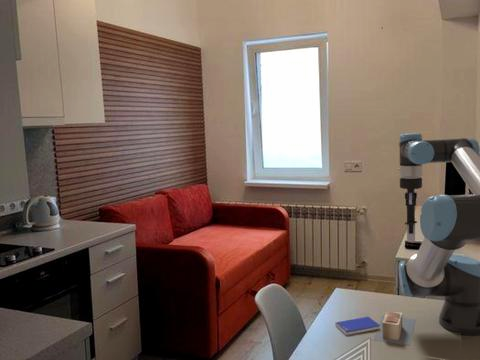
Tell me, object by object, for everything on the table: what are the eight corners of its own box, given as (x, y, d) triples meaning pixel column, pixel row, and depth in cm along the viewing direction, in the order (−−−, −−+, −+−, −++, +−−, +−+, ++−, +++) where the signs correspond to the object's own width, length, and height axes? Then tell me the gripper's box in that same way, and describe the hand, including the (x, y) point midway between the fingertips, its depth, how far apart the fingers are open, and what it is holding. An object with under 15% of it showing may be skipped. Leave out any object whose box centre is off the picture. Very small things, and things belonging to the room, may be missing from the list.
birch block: (402, 312, 157) (398, 324, 148) (402, 327, 158) (398, 340, 149) (386, 310, 160) (382, 322, 151) (387, 325, 160) (382, 337, 151)
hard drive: (346, 331, 154) (380, 324, 157) (335, 321, 162) (367, 315, 165) (346, 335, 154) (380, 329, 157) (335, 326, 162) (367, 320, 165)
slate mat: (415, 320, 163) (415, 319, 163) (409, 346, 145) (409, 345, 145) (382, 316, 168) (382, 315, 168) (373, 341, 150) (373, 339, 150)
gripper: (400, 174, 175) (401, 236, 178) (398, 179, 163) (399, 245, 166) (422, 174, 172) (422, 237, 175) (421, 179, 160) (422, 246, 163)
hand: (411, 241), depth 171 cm, fingers closed
